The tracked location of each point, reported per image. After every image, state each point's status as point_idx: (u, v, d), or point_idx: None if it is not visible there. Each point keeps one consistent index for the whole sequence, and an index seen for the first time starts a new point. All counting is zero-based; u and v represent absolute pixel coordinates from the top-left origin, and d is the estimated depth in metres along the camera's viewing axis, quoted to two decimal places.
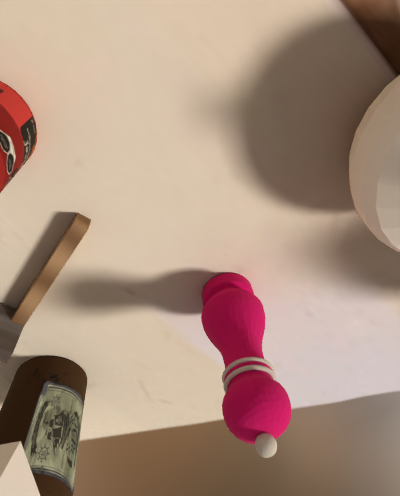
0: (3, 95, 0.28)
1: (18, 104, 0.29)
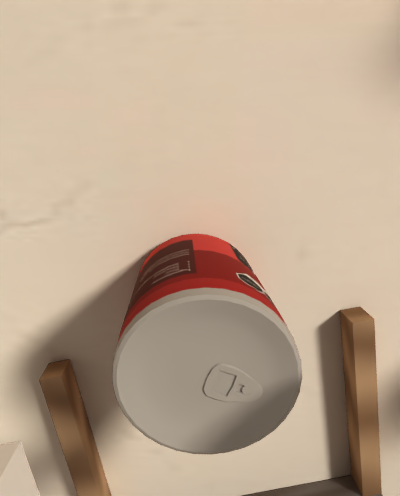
0: (196, 242, 0.21)
1: (212, 240, 0.22)
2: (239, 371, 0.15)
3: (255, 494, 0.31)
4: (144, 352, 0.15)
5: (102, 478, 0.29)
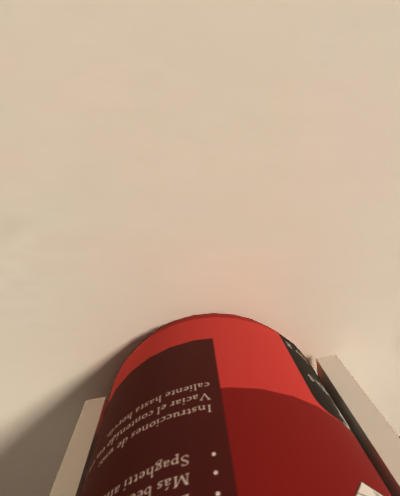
0: (223, 351, 0.10)
1: (251, 338, 0.11)
2: None
3: None
4: None
5: None
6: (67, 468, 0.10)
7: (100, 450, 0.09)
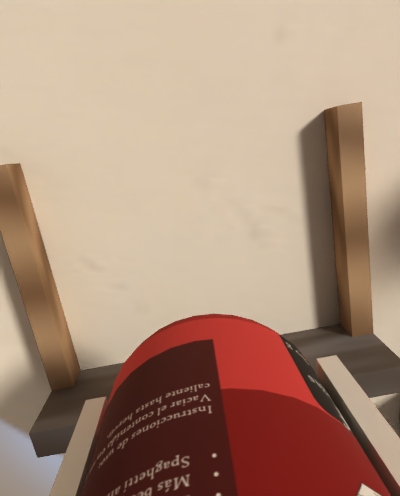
0: (223, 352, 0.10)
1: (251, 338, 0.11)
2: None
3: None
4: None
5: (60, 313, 0.26)
6: (67, 468, 0.10)
7: (100, 451, 0.09)
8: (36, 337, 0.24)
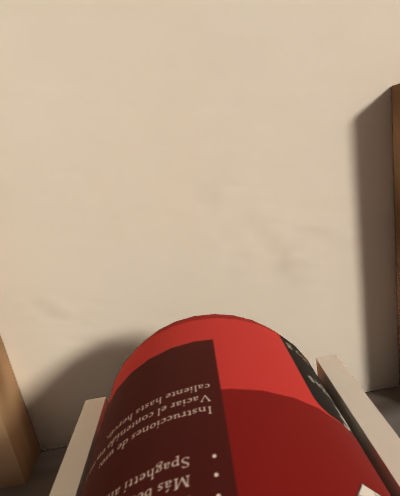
0: (223, 352, 0.10)
1: (251, 339, 0.11)
2: None
3: None
4: None
5: (7, 379, 0.18)
6: (67, 468, 0.10)
7: (100, 451, 0.09)
8: None
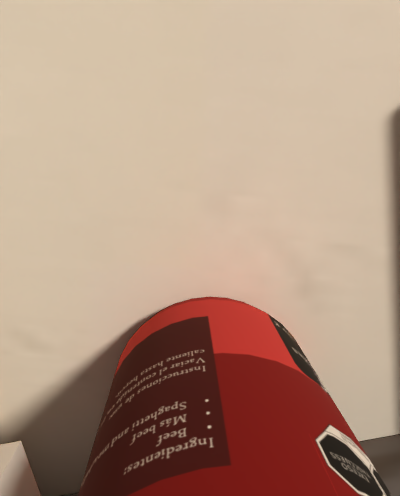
0: (217, 326, 0.12)
1: (243, 316, 0.13)
2: None
3: None
4: None
5: None
6: None
7: (110, 408, 0.10)
8: None
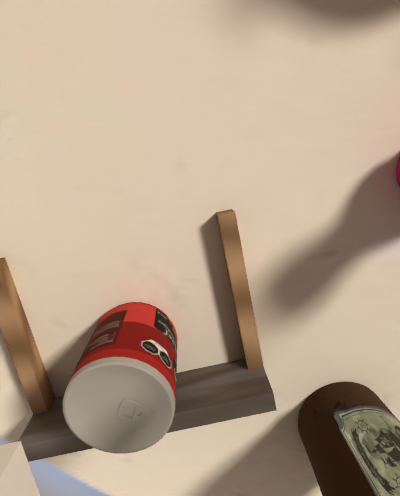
0: (129, 313, 0.32)
1: (141, 309, 0.33)
2: (138, 403, 0.26)
3: None
4: (80, 394, 0.26)
5: (37, 359, 0.36)
6: None
7: (89, 341, 0.31)
8: (20, 377, 0.35)
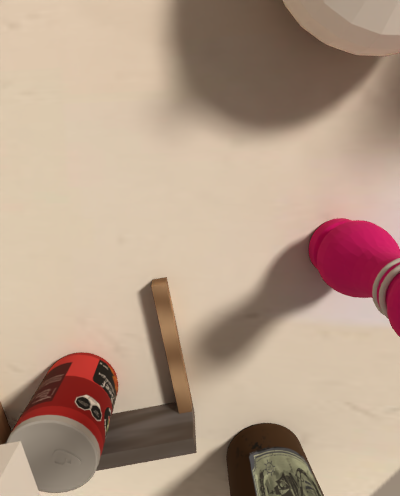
0: (72, 366, 0.37)
1: (85, 361, 0.39)
2: (68, 452, 0.31)
3: None
4: None
5: None
6: None
7: (36, 391, 0.36)
8: None
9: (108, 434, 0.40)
